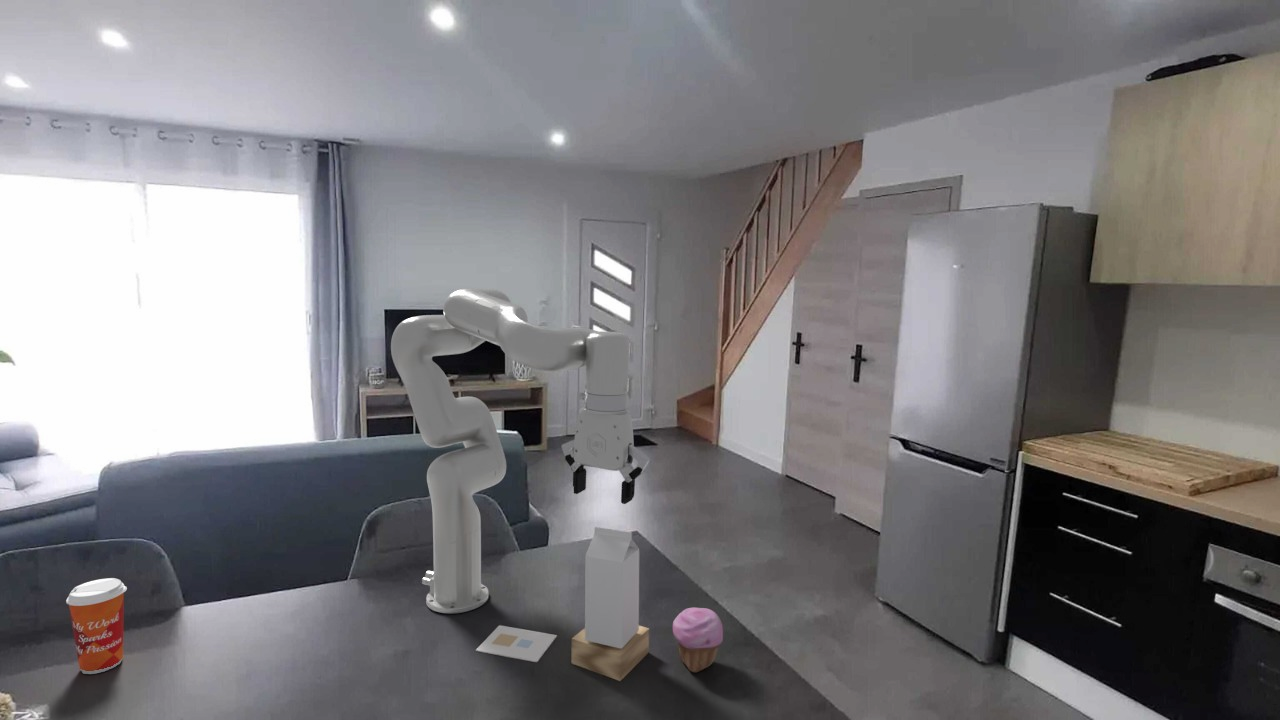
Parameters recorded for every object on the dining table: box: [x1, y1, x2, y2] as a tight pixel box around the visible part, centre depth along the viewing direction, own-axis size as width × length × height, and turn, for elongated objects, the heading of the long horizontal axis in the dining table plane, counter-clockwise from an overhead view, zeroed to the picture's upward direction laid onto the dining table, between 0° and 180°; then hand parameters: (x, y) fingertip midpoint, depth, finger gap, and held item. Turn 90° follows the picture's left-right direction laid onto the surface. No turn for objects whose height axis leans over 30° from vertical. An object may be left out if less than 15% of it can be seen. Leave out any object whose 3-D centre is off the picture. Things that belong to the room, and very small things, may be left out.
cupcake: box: [672, 607, 724, 673], centre depth 113 cm, size 9×9×10 cm
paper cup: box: [65, 577, 128, 671], centre depth 109 cm, size 8×8×14 cm
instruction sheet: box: [475, 624, 558, 663], centre depth 119 cm, size 12×9×1 cm
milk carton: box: [584, 526, 640, 648], centre depth 113 cm, size 7×7×19 cm
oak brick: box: [570, 625, 650, 682], centre depth 115 cm, size 10×10×5 cm
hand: (602, 496), depth 115 cm, fingers open, 9 cm apart
